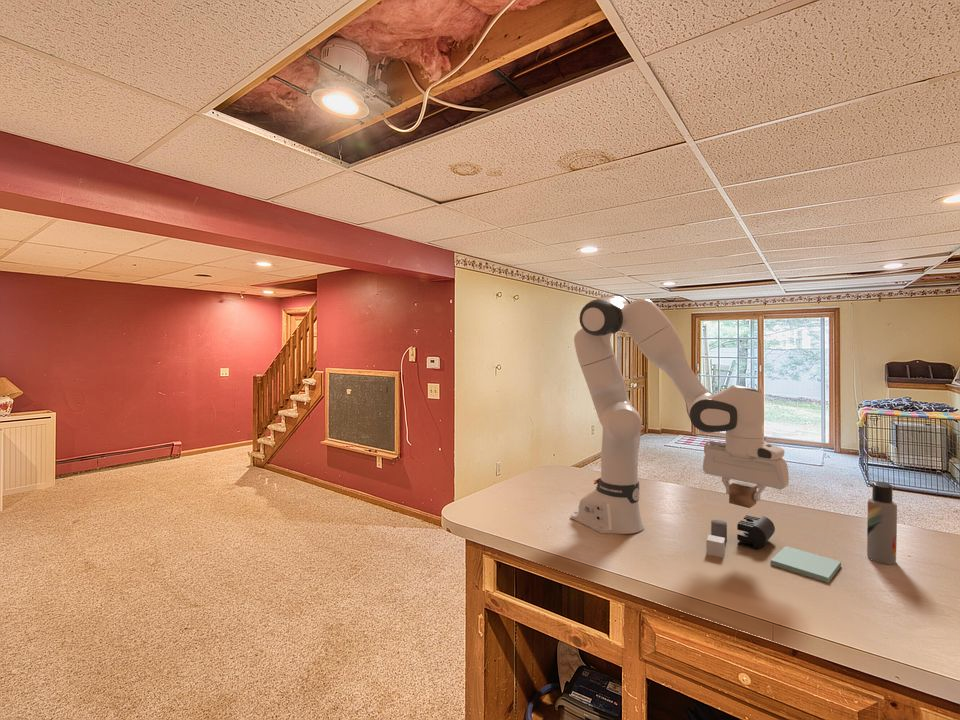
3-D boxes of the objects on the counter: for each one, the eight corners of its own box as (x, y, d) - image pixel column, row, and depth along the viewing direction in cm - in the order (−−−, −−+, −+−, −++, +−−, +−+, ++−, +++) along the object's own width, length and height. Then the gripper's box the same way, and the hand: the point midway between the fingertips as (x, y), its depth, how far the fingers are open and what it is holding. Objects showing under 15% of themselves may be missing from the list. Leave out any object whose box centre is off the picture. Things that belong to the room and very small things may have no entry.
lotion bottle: (896, 558, 118) (897, 482, 118) (896, 567, 114) (897, 488, 114) (867, 552, 122) (868, 478, 122) (866, 560, 118) (867, 483, 117)
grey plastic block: (706, 554, 123) (706, 539, 123) (708, 548, 126) (708, 534, 126) (723, 558, 120) (723, 543, 120) (725, 552, 124) (725, 537, 124)
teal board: (770, 564, 116) (770, 560, 116) (785, 550, 124) (785, 546, 124) (828, 582, 107) (828, 577, 107) (840, 566, 115) (841, 561, 115)
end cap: (765, 553, 123) (766, 528, 123) (736, 545, 128) (736, 521, 128) (775, 541, 130) (775, 518, 130) (747, 534, 135) (747, 512, 135)
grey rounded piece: (708, 539, 132) (708, 522, 132) (714, 535, 135) (714, 518, 134) (723, 543, 129) (723, 526, 129) (729, 539, 131) (729, 522, 131)
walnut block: (729, 503, 123) (729, 484, 123) (736, 498, 126) (736, 481, 126) (749, 508, 119) (749, 489, 119) (756, 503, 123) (756, 485, 122)
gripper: (699, 441, 128) (698, 490, 129) (783, 455, 112) (782, 510, 113) (709, 438, 132) (708, 485, 133) (791, 451, 117) (790, 504, 117)
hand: (742, 497), depth 123 cm, fingers closed on walnut block, 5 cm apart
